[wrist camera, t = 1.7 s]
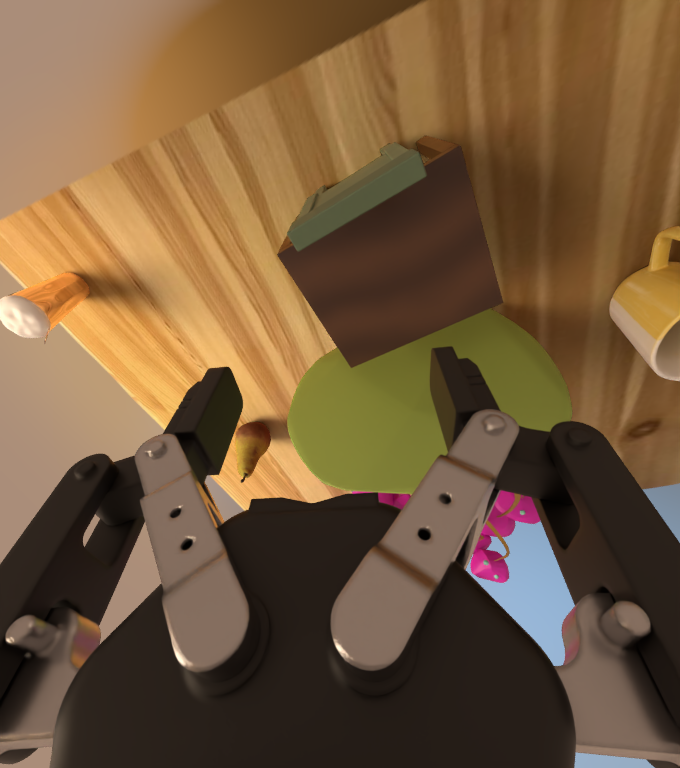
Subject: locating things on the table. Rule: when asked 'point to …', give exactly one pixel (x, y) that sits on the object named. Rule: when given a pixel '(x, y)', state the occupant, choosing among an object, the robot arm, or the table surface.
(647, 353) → the mug
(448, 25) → the table surface
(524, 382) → the green and pink pieces
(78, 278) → the milkshake
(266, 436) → the fruit
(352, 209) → the chair
